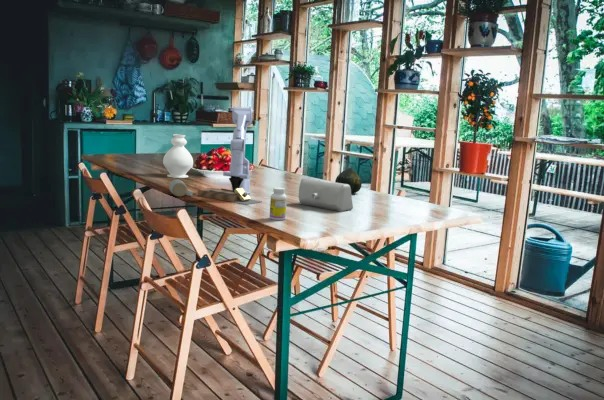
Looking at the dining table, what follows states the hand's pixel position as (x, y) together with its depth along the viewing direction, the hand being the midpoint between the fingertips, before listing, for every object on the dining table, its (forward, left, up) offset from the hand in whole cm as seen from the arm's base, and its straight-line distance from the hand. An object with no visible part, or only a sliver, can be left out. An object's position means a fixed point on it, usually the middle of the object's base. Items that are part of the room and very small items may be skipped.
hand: (235, 192), depth 270 cm
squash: (-71, +25, -4) cm, 75 cm away
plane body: (0, -8, -4) cm, 9 cm away
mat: (0, +7, -4) cm, 8 cm away
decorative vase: (-38, -73, -4) cm, 82 cm away
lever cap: (0, +4, -1) cm, 4 cm away
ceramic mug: (+12, -24, -4) cm, 27 cm away
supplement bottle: (+22, +39, -4) cm, 45 cm away
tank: (-18, +38, -4) cm, 42 cm away
